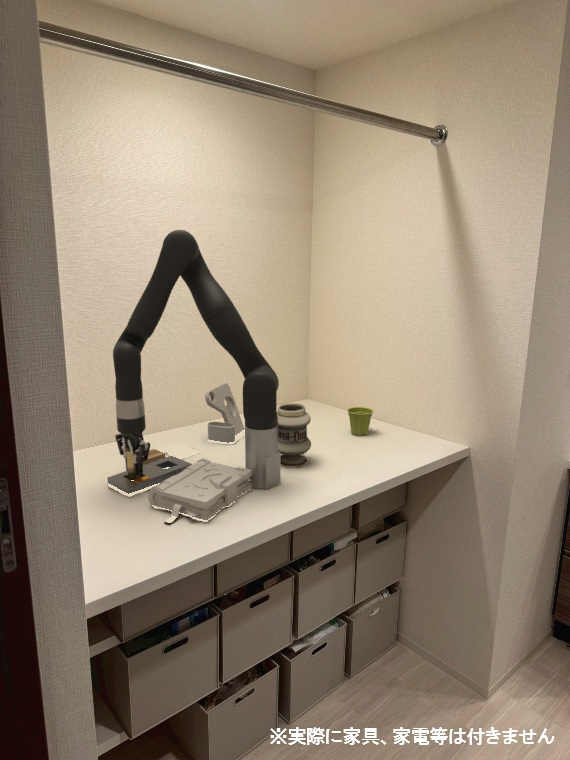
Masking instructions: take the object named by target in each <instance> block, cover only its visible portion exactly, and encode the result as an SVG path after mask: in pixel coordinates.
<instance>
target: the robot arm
mask: <svg viewBox="0 0 570 760" xmlns="http://www.w3.org/2000/svg"><path fill="white" fill-rule="evenodd" d="M180 277H181V279H182V280H183V281H184V283H185V284H186V287H187V288H188V290H189V291H190V294H191V296H192V298H193V301H194V304H195V306H196V308H197V310H198V313H199V315H200V316H201V318H202V321H203V322H204V323H205V325H206V327H207V329H208V330H209V332H210V333H211V335H212V336H213V338H214V339H215V340H216V342H217V343H219V345H220V346H221V347H222V348H223V349H224V350H225V351H226V352H227V353H228V355H230V356H231V357H232V358H233V360H234V361H235V362H236V365H237V366H238V368H239V369H240V372H241V373H242V376H243V378H244V380H243V383H242V384H243V385H242V412H243V413H242V414H243V419H244V428H245V436H244V449H245V450H244V457H245V458H244V460H245V461H244V462H245V467H244V468H247V469H251V470H252V476H251V477H249V479H250V480H251V481H248V482H249V483H252V489H253V488H254V489H263V490H269V489H270V488H273V487H276V486H277V485H278V484H281V466H282V465H281V455H282V454H281V453H280V452H279V451H278V416H277V411H278V406H277V404H278V403H277V400H278V399H277V391H278V389H279V386H280V384H279V381H280V380H279V377H278V374H277V373H276V372H275V370H274V369H273V368H272V366H271V365H270V363H269V362H268V361H267V359H266V358H265V357H264V355H263V354H262V353H261V352H260V350H259V348H258V347H257V345H256V343H255V341H254V339H253V336H252V335H251V332H250V331H249V329H248V328H247V325H246V324H245V322H244V320H243V318H242V317H241V314H240V313H239V311H238V309H237V308H236V306H235V305H234V303H233V301H232V300H231V299H230V297H229V296H228V294H227V292H226V291H225V290H224V288H223V287H222V286H221V285H220V284H219V283H218V281H217V280H216V278H215V277H214V276H213V274H212V273H211V271H210V269H209V267H208V265H207V263H206V261H205V259H204V257H203V254H202V252H201V250H200V247H199V245H198V242H197V240H196V238H195V237H194V235H192V233H190V232H189V231H186V230H185V229H184V230H183V229H176V230H173V231H171V232H170V231H169V233H168V234H167V235H166V236H165V238H164V239H163V242H162V245H161V249H160V252H159V256H158V259H157V262H156V265H155V267H154V270H153V272H152V275H151V276H150V280H149V281H148V284H147V285H146V286H145V290H144V291H143V292H142V295H140V298H139V300H138V302H137V303H136V306H135V308H134V309H133V311H132V314H131V316H130V317H129V319H128V321H127V322H128V323H127V325H126V326H125V328H124V330H123V331H122V333H121V334H120V336H119V338H118V339H117V341H116V343H115V345H114V347H113V350H112V359H113V367H114V375H115V385H114V387H115V399H116V400H115V415H116V427H117V428H116V429H117V432H118V434H114V435H115V440H116V444H117V449H118V451H119V455H120V456H122V457H123V459H124V460H125V471H128V468H127V454H126V450H129V449H130V452H131V455H133V459H134V470H135V475H137V476H138V475H141V474H142V473H143V462H144V461H147V460H148V455H149V450H151V442H146V441H145V440H144V434H143V432H144V431H145V430H146V427H147V426H146V425H147V424H146V413H145V412H146V409H145V402H144V397H143V396H144V395H143V391H144V390H143V382H142V352H143V349H144V347H145V345H146V343H147V341H148V339H150V338H151V337H152V335H153V334H154V332H155V330H156V328H157V326H158V325H159V322H160V320H161V319H162V316H163V314H164V312H165V310H166V307H167V305H168V302H169V298H170V296H171V294H172V291H173V289H174V287H175V285H176V284H177V282H178V280H179V278H180ZM138 449H139V450H138ZM135 450H138V451H135ZM137 454H139V455H138V458H137ZM143 456H144V457H143Z"/></svg>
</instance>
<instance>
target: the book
mask: <svg viewBox="0 0 570 760" xmlns="http://www.w3.org/2000/svg"><path fill="white" fill-rule="evenodd" d="M191 464H192V465H190V466H189V467H187V468H185V469H184V470H183V471H182V472H181V473H179V474H177V475H174V476H172V477H170V478H168V479H166V480H165V481H163V482H161V483H160V484H159V485H156V486H154V487H152V488H151V489H150V490H148V491H149V492H148V494H147V495H148V501H149V503H150V505H154V506H157V507H161V508H165V509H169V510H172V512H171V514H170V516H175V517H179V512H180V513H184V514H188V515H190V516H192V517H196V518H199V519H203V520H208V519H209V518H211V517H212V516H214V515H215V514H216V512H218V511H219V510H221V509H222V508H223V507H225V506H229V505H230V504H231V503H233V502H234V501H236V500H237V499H238V498H239V497H238V496H240V495H241V494H242V493H245V492H246V491H248V490H249V489H250V490H252V489H253V487H252V483H249V482H248V481H251V480H250V479H249V477H251V476H252V470H251V469H247V468H246V467H240V466H237V467H235V466H230V465H226V464H222V463H216V462H212V461H210V460H209V459H208V458H203V457H202V458H200V459H198V460H196V462H195V463H191ZM250 490H249V491H250ZM249 491H248V492H249ZM246 493H247V492H246ZM246 493H245V494H246ZM242 495H243V494H242ZM242 495H241V496H242ZM241 496H240V497H241ZM237 497H238V498H237ZM236 502H237V501H236ZM221 511H222V510H221ZM216 515H217V514H216Z"/></svg>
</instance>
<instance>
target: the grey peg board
mask: <svg viewBox="0 0 570 760" xmlns="http://www.w3.org/2000/svg"><path fill="white" fill-rule="evenodd" d="M192 464H193V463H191V462H188V461H185V460H184V459H182V460H181V459H178V458H176V457H173V456H169V455H168V456H167V457H166V456H165V458H163V459H160V460H157V461H154V462H151V463H148V464H145V465H143V473H142V474H141V478H138V479H136V480H134V481H131V479H129V478H128V471H126V470H125V471H123V472H120V473H116V474H114V475H110V476H107V484H108V483H109V484H111V485H113V486H115V487H117V488H118V489H120V490H122V491H124V492H126V493H128V494H129V493H132V492H135V491H138V490H141V489H144V488H146V487H149V486H152V485H154V484H158V483H161V482H163V481H165V480H166V479H168V478H170V477H172V476H174V475H177V474H179V473H181V472H182V471H183V470H184V469H185V468H187V467H189V466H190V465H192ZM166 467H170V468H168V469H163V468H166Z"/></svg>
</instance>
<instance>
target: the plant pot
mask: <svg viewBox="0 0 570 760" xmlns="http://www.w3.org/2000/svg"><path fill="white" fill-rule="evenodd" d="M346 412H347V413H348V416H349V427H350V433H351V434H352V435H355V436H365V435H369V429H370V423H371V418H372V415H373V414H374V410H373V409H372V408H369V407H365V406H364V407H363V406H355V407H349V408H347V410H346Z"/></svg>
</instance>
